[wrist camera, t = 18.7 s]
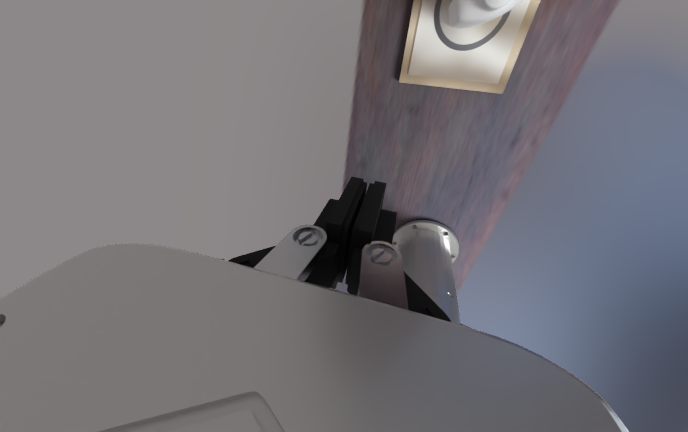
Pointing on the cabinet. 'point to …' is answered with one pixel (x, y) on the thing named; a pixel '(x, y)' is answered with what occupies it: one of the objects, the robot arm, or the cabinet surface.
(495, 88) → the cream flat rectangular panel
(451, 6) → the eye dropper bottle
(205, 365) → the robot arm
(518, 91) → the cabinet surface
